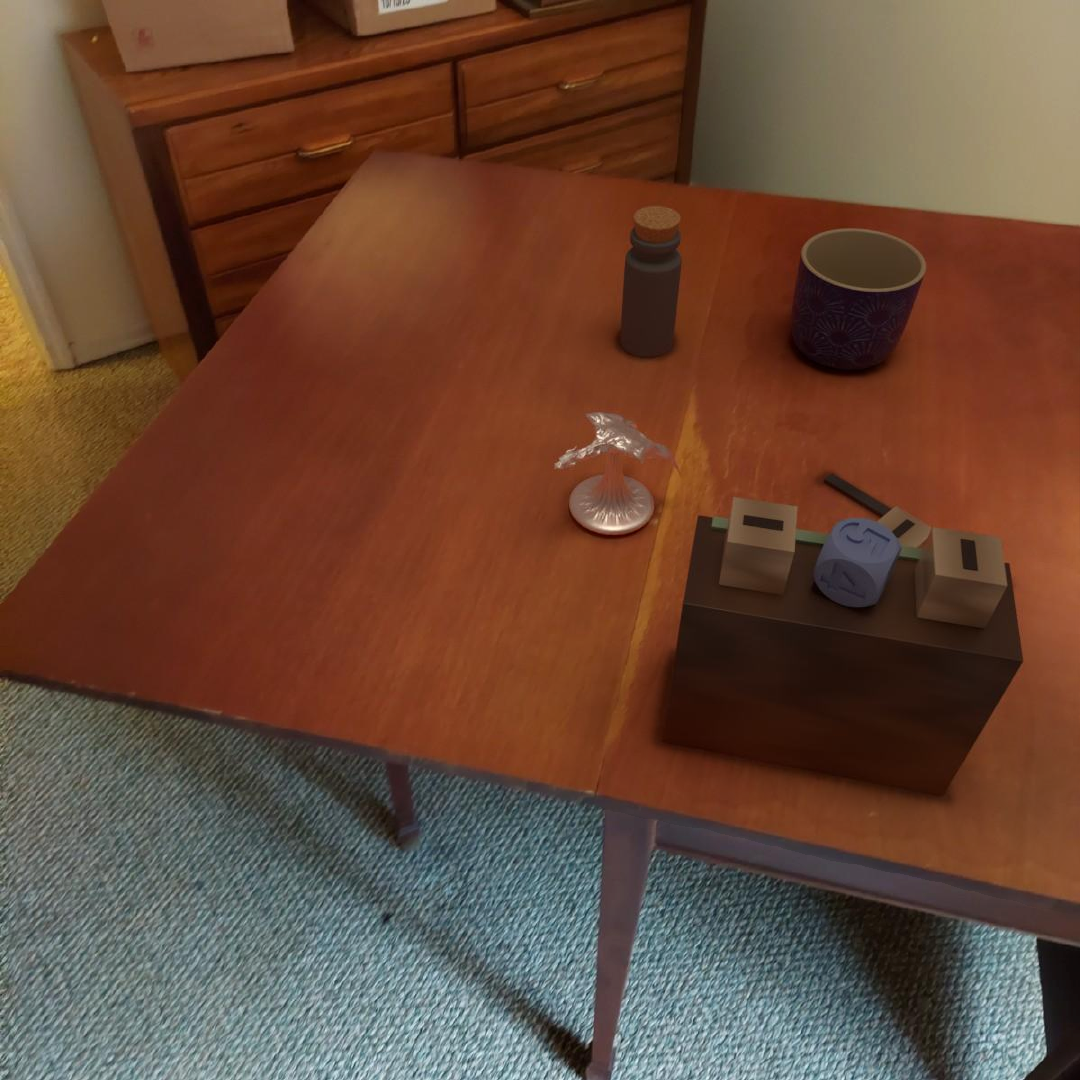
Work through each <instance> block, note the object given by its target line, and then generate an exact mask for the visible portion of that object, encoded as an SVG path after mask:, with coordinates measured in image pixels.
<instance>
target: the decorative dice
mask: <svg viewBox="0 0 1080 1080" xmlns="http://www.w3.org/2000/svg"><path fill="white" fill-rule="evenodd" d="M828 534H829V535H828V537H827V539H826V541H825V543H824V545H823V548H822V550H821V552H820V555H819V557H818V560H817V562H816V565H815V568H814V572H813V578H814V580H815V582H816V584H817V586H818V587H819V589H820V590H821V591H822V592H823V593H824V594H825V595H826V596H827V597H828V598H830V599H831V600H833V601H835V602H837V603H839V604H841V605H845V606H849V607H867V606H871V605H874V604H876V603H877V602H878V600H879V598H880V596H881V595H882V593H883V591H884V589H885V586H886V584H887V582H888V580H889V578H890V576H891V574H892V571H893V569H894V567H895V564H896V562H897V560H898V557H899V554H900V552H901V548H902V547H901V544H900V542H899V541H898V539H897V538H896V536H895V535H894V534H893V533H892V532H891V531H890V530H889V529H888V528H887V527H885V526H884V525H882V524H880V523H878V522H877V521H876V520H873V519H870V518H865V517H849V518H844V519H841V520H839V521H836V522H835V524H834V526H833V527H832V528H831V531H829V533H828Z"/></svg>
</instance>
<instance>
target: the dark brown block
mask: <svg viewBox="0 0 1080 1080" xmlns="http://www.w3.org/2000/svg"><path fill="white" fill-rule="evenodd" d="M798 510H799V506H797V505H791V504H784V503H777V502H770V501H764V500H757V499H752V498H751V499H750V498H744V497H737V496H733V497H732V501H731V507H730V511H729V516H728V517H721V516H716V515H712V516H707V515H700V514H699V515H697V519H696V524H695V530H694V537H693V543H692V547H691V553H690V559H689V564H688V565H689V566H688V571H687V577H686V582H685V589H684V594H683V601H682V605H681V606H682V607H681V613H680V621H679V626H678V633H677V639H676V644H675V645H676V646H675V652H674V659H673V665H672V672H671V677H670V678H671V679H670V684H669V690H668V698H667V704H666V710H665V717H664V722H663V723H664V724H663V729H662V737H661V743H666V744H670V745H671V744H672V745H676V746H681V747H685V748H686V747H687V748H690V749H691V748H692V749H696V750H702V751H708V752H712V753H718V754H722V755H727V756H732V757H733V756H734V757H737V758H743V759H748V760H753V761H758V762H763V763H767V764H773V765H778V766H783V767H789V768H794V769H799V770H804V771H809V772H815V773H819V774H824V775H830V776H835V777H841V778H845V779H851V780H856V781H861V782H864V783H865V782H866V783H871V784H875V785H882V786H887V787H892V788H897V789H902V790H907V791H913V792H916V793H923V794H926V795H927V794H928V795H933V796H937V797H944V795H945V794H946V792H947V790H948V788H949V787H950V785H951V784H952V782H953V780H954V779H955V777H956V775H957V774H958V772H959V770H960V768H961V767H962V765H963V763H964V762H965V760H966V758H967V757H968V755H969V753H970V752H971V750H972V749H973V747H974V745H975V743H976V742H977V740H978V738H979V737H980V735H981V733H982V731H983V730H984V728H985V727H986V725H987V723H988V721H989V720H990V718H991V716H992V715H993V713H994V712H995V710H996V708H997V707H998V705H999V703H1000V702H1001V700H1002V698H1003V696H1004V695H1005V693H1006V692H1007V690H1008V688H1009V687H1010V685H1011V683H1012V681H1013V679H1014V678H1015V676H1016V675H1017V673H1018V671H1019V670H1020V669H1021V666H1022V665H1023V663H1024V656H1023V650H1022V649H1023V647H1022V642H1021V641H1022V640H1021V635H1020V627H1019V620H1018V614H1017V613H1018V612H1017V606H1016V600H1015V599H1016V598H1015V592H1014V585H1013V579H1012V572H1011V564H1010V563H1009V562H1005V558H1004V551H1003V542H1002V537H1001V536H996V535H989V534H983V533H977V532H976V533H975V532H970V531H964V530H963V531H962V530H957V529H950V528H943V527H936V526H931V527H932V528H931V531H930V533H929V536H928V538H927V541H926V543H925V545H924V548H916V547H910V546H903V545H901V547H902V548H901V552H900V554H899V557H898V560H897V562H896V564H895V567H894V569H893V571H892V574H891V576H890V578H889V580H888V582H887V584H886V586H885V589H884V591H883V593H882V595H881V596H880V598H879V600H878V602H877V603H876V604H874V605H871V606H867V607H849V606H845V605H841V604H839V603H837V602H835V601H833V600H831V599H830V598H828V597H827V596H826V595H825V594H824V593H823V592H822V591H821V590H820V589H819V587H818V586H817V584H816V582H815V580H814V578H813V572H814V568H815V565H816V562H817V560H818V557H819V555H820V552H821V550H822V548H823V545H824V543H825V541H826V539H827V537H828V535H829V533H826V532H819V531H813V530H807V529H799V528H797V526H798V525H797V524H798Z"/></svg>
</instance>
